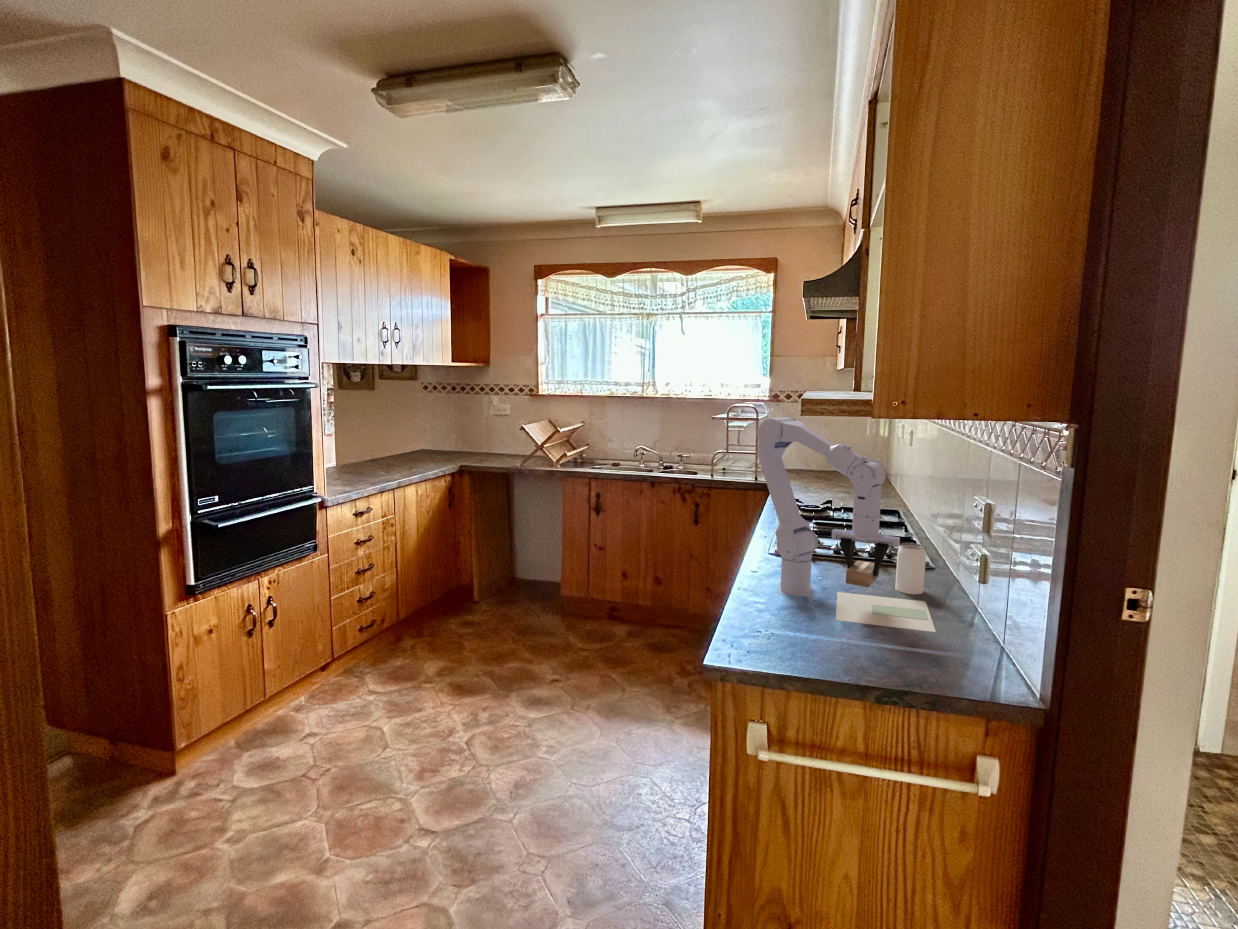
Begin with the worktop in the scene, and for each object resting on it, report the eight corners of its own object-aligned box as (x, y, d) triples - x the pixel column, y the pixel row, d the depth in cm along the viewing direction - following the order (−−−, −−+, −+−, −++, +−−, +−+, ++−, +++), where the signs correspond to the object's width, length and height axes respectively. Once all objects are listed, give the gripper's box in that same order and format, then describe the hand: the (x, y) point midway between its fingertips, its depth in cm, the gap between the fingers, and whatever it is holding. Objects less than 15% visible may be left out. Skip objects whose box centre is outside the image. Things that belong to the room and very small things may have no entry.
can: (925, 597, 163) (929, 549, 161) (897, 595, 164) (901, 548, 162) (919, 589, 169) (922, 543, 167) (892, 587, 170) (895, 541, 168)
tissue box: (856, 572, 158) (857, 559, 157) (878, 576, 155) (879, 563, 154) (845, 583, 149) (846, 570, 149) (868, 587, 147) (869, 573, 146)
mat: (837, 594, 164) (837, 591, 164) (925, 603, 158) (925, 601, 158) (835, 622, 146) (835, 619, 145) (935, 634, 139) (935, 631, 139)
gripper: (828, 514, 151) (826, 572, 153) (896, 522, 143) (892, 583, 145) (837, 509, 157) (834, 564, 158) (903, 516, 149) (899, 575, 150)
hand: (863, 573), depth 152 cm, fingers closed on tissue box, 5 cm apart
